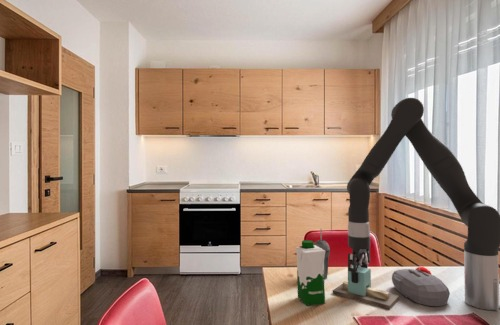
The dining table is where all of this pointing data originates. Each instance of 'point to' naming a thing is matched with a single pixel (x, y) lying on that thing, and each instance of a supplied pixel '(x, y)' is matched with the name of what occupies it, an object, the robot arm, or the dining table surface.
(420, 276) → the soft grey pack
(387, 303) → the cleat board
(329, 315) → the dining table surface
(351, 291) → the saddle block
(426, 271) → the cap
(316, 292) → the milk carton
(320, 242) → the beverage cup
